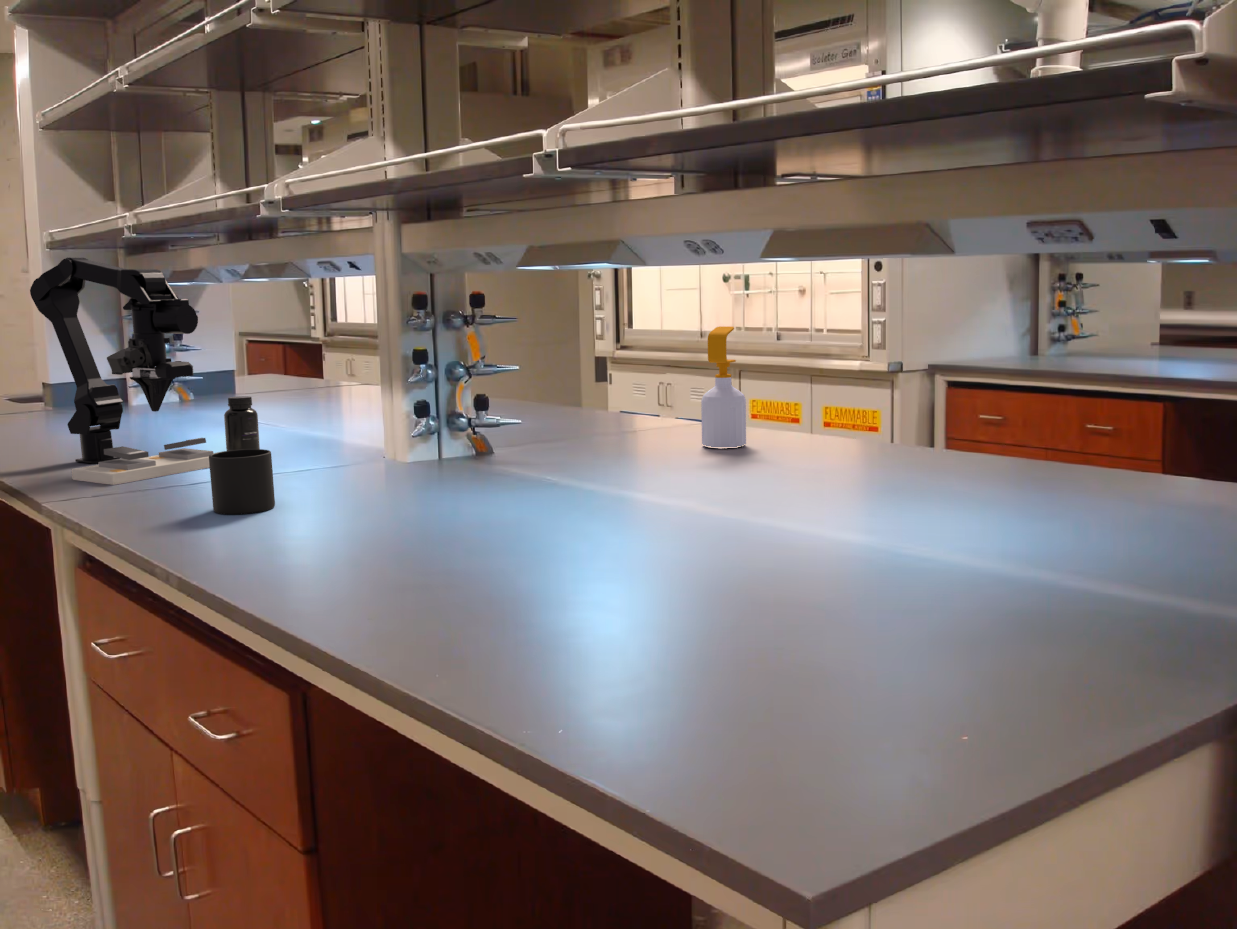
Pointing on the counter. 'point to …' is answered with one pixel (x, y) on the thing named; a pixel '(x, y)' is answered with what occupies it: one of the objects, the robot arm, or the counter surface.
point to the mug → (242, 481)
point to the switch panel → (144, 467)
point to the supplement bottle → (241, 424)
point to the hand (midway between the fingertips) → (155, 411)
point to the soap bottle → (722, 399)
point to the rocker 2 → (185, 443)
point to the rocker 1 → (126, 453)
